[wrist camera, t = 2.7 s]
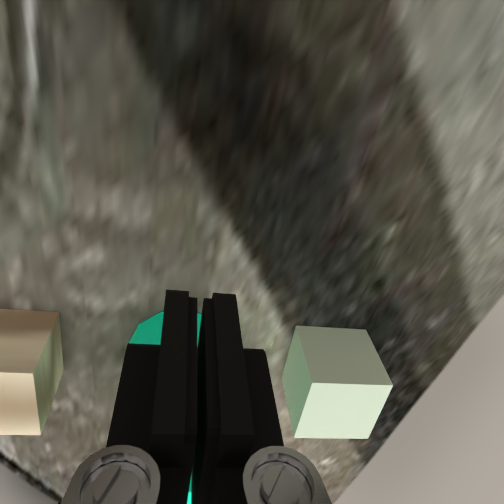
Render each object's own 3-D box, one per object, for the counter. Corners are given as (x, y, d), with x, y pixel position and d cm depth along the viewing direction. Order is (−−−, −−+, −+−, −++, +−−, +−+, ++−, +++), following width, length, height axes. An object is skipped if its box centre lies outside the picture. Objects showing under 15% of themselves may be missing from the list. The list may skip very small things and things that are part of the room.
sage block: (295, 324, 26) (312, 382, 22) (365, 328, 27) (392, 385, 23) (281, 377, 28) (293, 437, 25) (345, 379, 29) (367, 438, 25)
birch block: (-31, 306, 23) (-76, 369, 19) (59, 311, 24) (32, 373, 20) (-18, 366, 25) (-56, 434, 21) (64, 369, 26) (40, 435, 22)
